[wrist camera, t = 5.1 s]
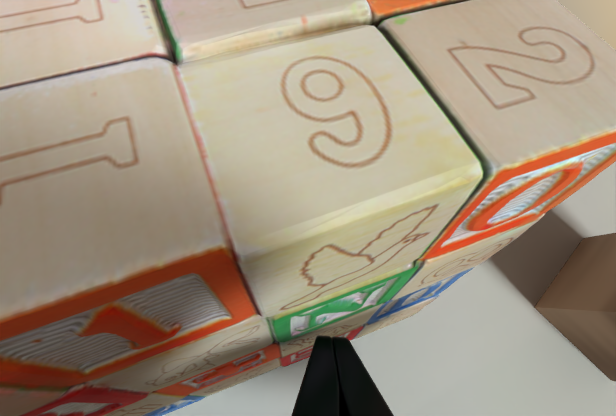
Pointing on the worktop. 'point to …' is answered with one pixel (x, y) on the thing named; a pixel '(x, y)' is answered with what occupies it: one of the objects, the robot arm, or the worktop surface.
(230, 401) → the worktop surface
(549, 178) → the stack of blocks
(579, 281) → the walnut block
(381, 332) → the worktop surface
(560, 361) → the worktop surface
